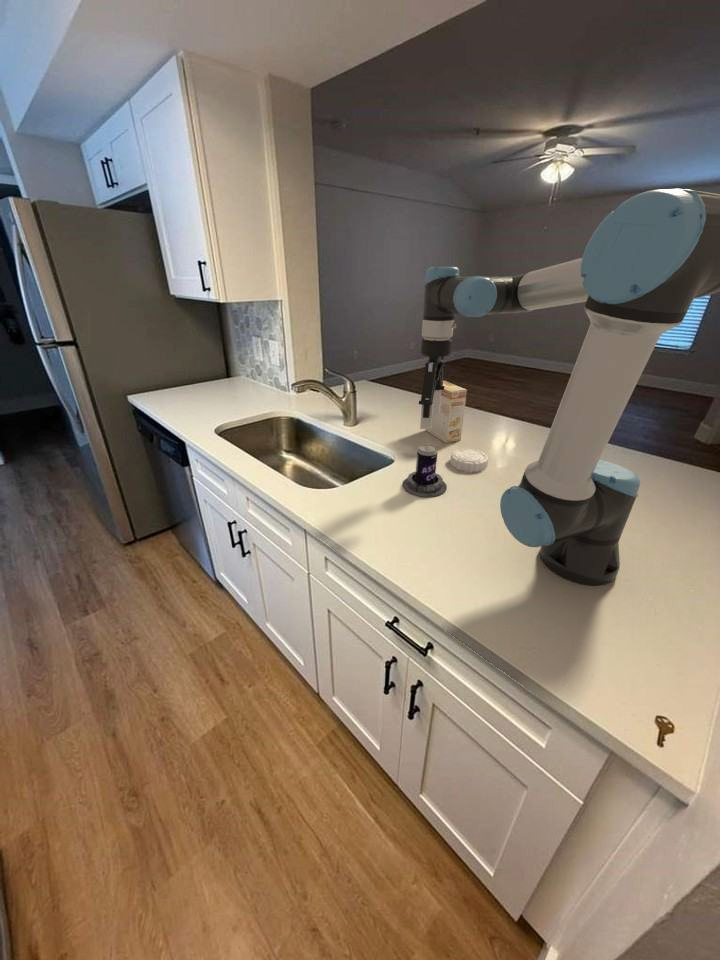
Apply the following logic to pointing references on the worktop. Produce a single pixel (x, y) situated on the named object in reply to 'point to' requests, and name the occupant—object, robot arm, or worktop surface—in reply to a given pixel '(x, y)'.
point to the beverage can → (426, 465)
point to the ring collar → (424, 487)
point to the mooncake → (469, 460)
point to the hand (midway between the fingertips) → (430, 420)
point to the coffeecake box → (449, 414)
